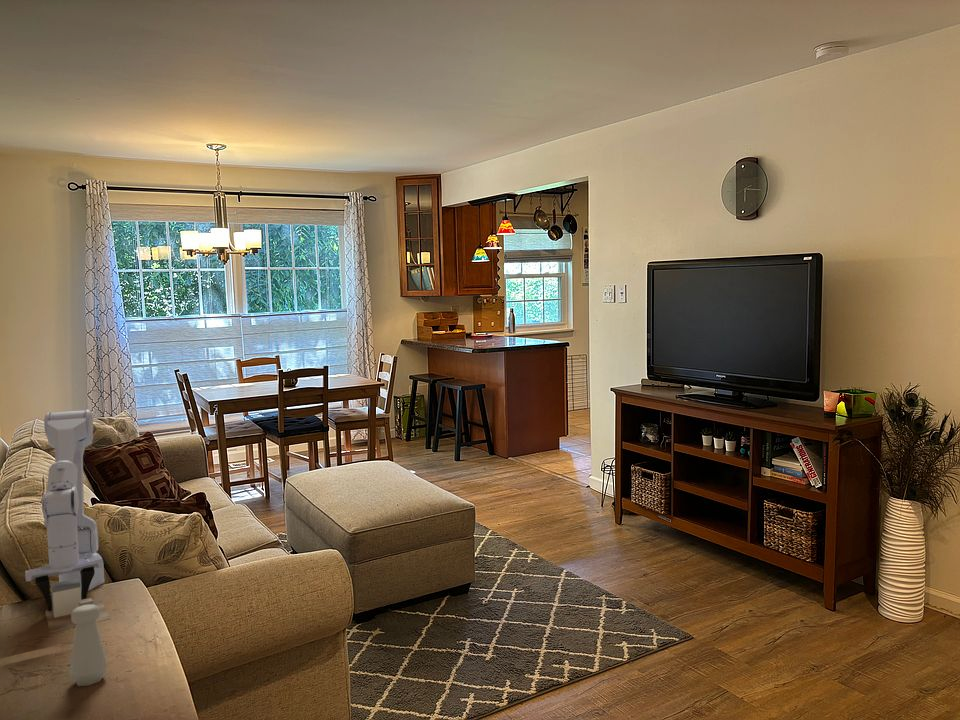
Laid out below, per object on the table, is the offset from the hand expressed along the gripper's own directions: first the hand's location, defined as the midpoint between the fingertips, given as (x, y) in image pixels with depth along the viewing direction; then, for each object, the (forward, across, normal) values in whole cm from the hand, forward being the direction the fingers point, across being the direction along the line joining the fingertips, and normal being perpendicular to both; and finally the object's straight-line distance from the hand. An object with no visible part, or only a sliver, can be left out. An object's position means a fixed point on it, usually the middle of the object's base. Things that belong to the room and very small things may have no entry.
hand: (67, 606), depth 158 cm
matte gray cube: (+1, 0, 0) cm, 1 cm away
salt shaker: (+2, 0, -39) cm, 39 cm away
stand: (+2, +2, -4) cm, 5 cm away
